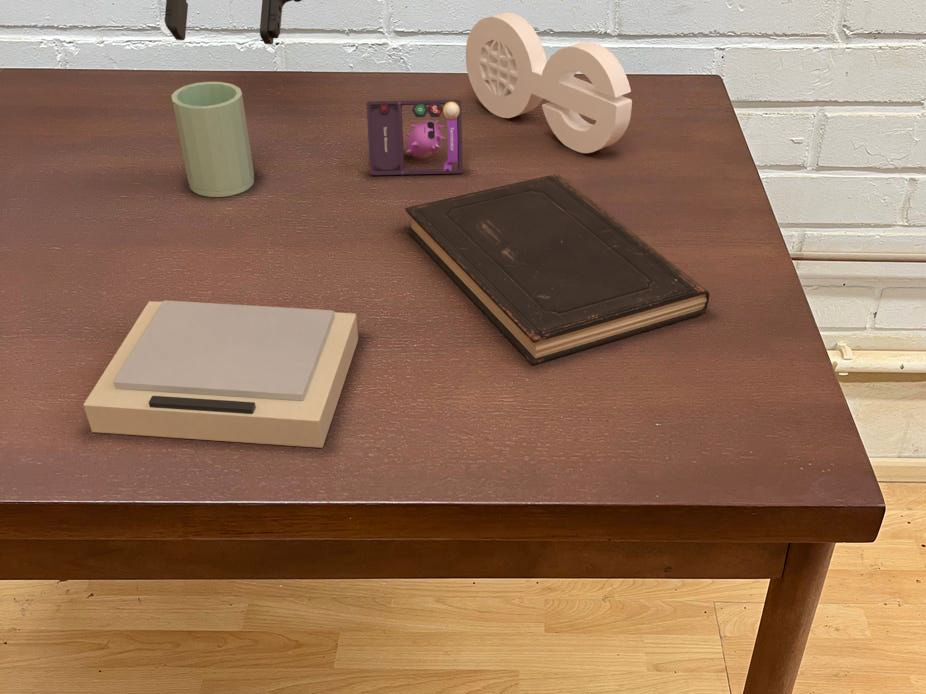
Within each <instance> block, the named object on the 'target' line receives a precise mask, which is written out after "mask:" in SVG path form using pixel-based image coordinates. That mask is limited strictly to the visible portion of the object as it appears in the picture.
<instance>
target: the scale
mask: <svg viewBox="0 0 926 694" xmlns="http://www.w3.org/2000/svg"><path fill="white" fill-rule="evenodd" d="M357 319H358V318H357V313H356V312H355V313H353V312H352V313H351V312H337V311H336V312H335V310H332V309H316V308H301V307H299V308H298V307H284V306H283V307H282V306H267V305H266V306H264V305H250V304H233V303H232V304H231V303H215V302H197V301H184V300H183V301H181V300H162V301H153V300H150V301H148V302H147V304H146V305H145V306H144V309H143V310H142V311H141V313H140V315H139V316H138V318H137V319H136V321H135V323H134V324H133V326H132V327H131V329H130V330H129V332H128V333H127V334H126V337H125V338H124V340H123V342H122V343H121V344H120V346H119V348H118V349H117V351H116V352H115V354H114V356H113V357H112V359H111V361H110V362H109V363H108V365H107V366H106V368H105V370H104V371H103V373H102V374H101V376H100V377H99V378H98V381H97V382H96V384H95V385H94V387H93V389H92V390H91V391H90V393H89V394H88V396H87V398H86V400H85V401H84V403H83V409H84V412H85V415H86V418H87V421H88V425H89V427H90V431H91V433H101V434H112V435H113V434H115V435H128V436H129V435H130V436H140V437H141V436H142V437H143V436H144V437H158V438H172V439H184V440H185V439H188V440H200V441H201V440H202V441H214V442H215V441H216V442H230V443H243V444H258V445H259V444H260V445H271V446H272V445H273V446H287V447H288V446H290V447H303V448H314V449H315V448H317V449H318V448H319V449H322V448H324V445H325V442H326V440H327V436H328V433H329V430H330V427H331V424H332V421H333V418H334V415H335V413H336V409H337V406H338V402H339V400H340V397H341V394H342V390H343V388H344V385H345V382H346V378H347V376H348V373H349V369H350V367H351V363H352V361H353V357H354V354H355V351H356V348H357V345H358V342H359V332H358V320H357Z"/></svg>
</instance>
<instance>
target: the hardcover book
mask: <svg viewBox="0 0 926 694" xmlns="http://www.w3.org/2000/svg"><path fill="white" fill-rule="evenodd" d="M404 211H405V213H407V215H409V216H410V225H411V226H410V227H405V229H406V230H405V231H406V232H407V233H408V234H409V235H410V236H411V237H412V238H413V240H415V242H416V243H417V244H418V245H419V246H420V247H421V248H422V249H423V250H424V251H425V252H426V253H427V254H428V255H429V257H431V258H432V259H433V260H434V262H435V263H436V264H437V265H438V266H439V267H440V268H441V269H442V270H443V272H445V274H446V275H447V276H449V278H450V279H451V280H452V281H453V282H454V283H455V284H456V285H457V286H458V287H459V288H460V289H461V290H462V292H463V293H464V294H465V295H467V297H468V298H469V299H470V300H471V301H472V302H473V303H474V305H476V306H477V307H478V309H480V311H482V313H483V314H484V315H485V316H486V317H487V318H488V319H489V320H490V321H491V322H492V323H493V325H495V327H496V328H497V329H498V330H499V331H500V332H501V333H502V334H503V336H505V337H506V338H507V339H508V340H509V341H510V342H511V344H512V345H513V346H514V347H515V348H516V349H517V350H518V351H519V352H520V353H521V354H522V355H523V357H525V358H526V360H527V361H528V362H529V363H530V364H531V365H532V366H533V365H537V364H539V363H543V362H546V361H550V360H553V359H556V358H559V357H560V358H561V357H563V356H566V355H570V354H573V353H577V352H580V351H584V350H588V349H590V348H594V347H596V346H600V345H603V344H607V343H611V342H614V341H617V340H620V339H624V338H627V337H630V336H634V335H637V334H641V333H644V332H647V331H651V330H654V329H657V328H661V327H665V326H667V325H671V324H674V323H678V322H681V321H685V320H688V319H690V318H691V319H692V318H694V317H697V316H701V315H702V314H703V313H704V312H705V311H706V310H707V308H708V306H709V301H710V292H709V291H708V290H707V289H706V288H704V286H702V285H701V284H699V283H698V282H697V281H696V280H694V279H693V278H692V277H691V276H689V274H687V273H686V272H684V271H683V270H682V269H680V268H679V267H678V266H676V265H675V264H674V263H673V262H671V261H670V260H669V259H668V258H667V257H665V256H664V255H663V254H661V253H660V252H659V251H657V250H656V249H655V248H653V247H652V246H651V245H650V244H648V243H647V242H646V241H645V240H643V239H642V238H640V236H638V235H637V234H635V232H633V231H632V230H631V229H629V228H628V227H627V226H626V225H624V224H623V223H621V222H620V221H619V220H617V218H615V217H614V216H613V215H612V214H610V213H609V212H607V211H606V210H605V209H603V207H601V206H600V205H598V204H597V203H596V202H594V201H593V199H591V198H589V197H588V196H587V195H586V194H584V193H583V192H582V191H580V190H579V189H578V188H576V186H574V185H573V184H572V183H570V182H569V181H567V180H566V179H565V178H564V177H562V176H561V175H560V174H558V173H555V174H554V173H553V174H549V175H545V176H542V177H541V176H540V177H537V178H532V179H528V180H524V181H519V182H514V183H510V184H506V185H501V186H497V187H496V186H495V187H492V188H489V189H483V190H478V191H474V192H470V193H466V194H462V195H461V194H460V195H455V196H451V197H448V198H442V199H439V200H434V201H431V202H430V201H429V202H426V203H421V204H416V205H412V206H408V207H407V206H406V207H405V210H404Z"/></svg>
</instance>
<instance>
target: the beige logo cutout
mask: <svg viewBox="0 0 926 694" xmlns="http://www.w3.org/2000/svg"><path fill="white" fill-rule="evenodd" d="M465 67H466V71H467V77H468V79H469V82H470V85H471V87H472V90H473V91H474V94H475V95H476V97H477V99H478V100H479V102H480V103H481V104H482V105H483V107H484V108H485V109H486V110H487V111H488V112H490V113H491V114H493V115H494V116H497V117H500V118H503V119H511V118H514V117H517V116H521V115H523V114H526V113H529V112H531V111H533V110H535V109H536V108H537V107H538V106H539V105H540V103H541V102H542V100H543V99H544V100H546V101H548V102H546V103H543V104H541V107H542V111H543V115H544V117H545V120H546V122H547V124H548V126H549V129H550V130H551V131H552V134H554V135H555V137H556V138H557V139H558V140H559V141H560V142H561V144H563V145H564V146H565V147H567V148H569V149H571V150H573V151H574V152H578V153H581V154H591V153H594V152H597V151H600V150H601V149H605V148H607V147H609V146H612V145H614V144H615V143H617V142H618V141H619V140H620V139H621V138H622V137H623V135H625V133H626V131H627V129H628V127H629V125H630V122H631V117H632V107H633V99H631V98H628V97H626V96H624V95H626V94H629V93H631V92H632V90H631V86H630V82H629V79H628V76H627V74H626V72H625V70H624V67H623V66H622V65H621V63H620V61H619V60H618V59H617V57H616V56H615V55H614V54H613V53H612V52H611V51H610V50H609V49H607V48H606V47H605V46H603V45H600V44H599V43H598V44H597V43H595V42H592V41H581V42H578V43H575V44H571V45H569V46H565V47H563V48H560V49H558V50H556V51H555V52H554V53H553V54H552V55H551V56H550V57H549V59H548V60H547V55H546V52H545V49H544V45H543V44H542V42H541V39H540V38H539V35H538V34H537V32H536V31H535V29H534V27H533V26H531V24H530V23H529V22H528V21H527V20H526V19H524V18H523V17H522V16H520V15H518V14H515V13H512V12H501V13H497V14H493V15H490V16H487V17H483V18H481V19H479V20H478V21H477V22H476V23H475V24H474V25H473V27H472V28H471V29H470V32H469V35H468V36H467V40H466V44H465ZM578 72H579V73H581V74H582V75H584V76H585V77H586V78H587V79H588V80H589V81H590V82H591V83H590V82H588V81H585V80H583V79H580V78H578V77H575V75H576V74H577V73H578ZM581 116H583V117H586V118H588V119H591V120H592V121H593V120H594V121H595V122H594V124H592V123H589V122H588V121H587V120H585V119H583V117H581Z"/></svg>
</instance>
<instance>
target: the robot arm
mask: <svg viewBox="0 0 926 694" xmlns="http://www.w3.org/2000/svg"><path fill="white" fill-rule="evenodd" d="M187 1H188V0H165V11H164V24H165V26H166V28H167V30H168V31H169V33H170V34H171V35H172V36H173V38H174V39H175V40H176V41H185V40H186V35H187V33H186V32H187V22H188V10H189V3H188V2H187ZM292 1H293V2H296V3H299V2H302V0H261V11H260V21H259V22H260V23H259V36H260V39H261V40H262V42H263V43H264V45H273V44H274V39H278V38H279V36H280V34H281V28H282V27H281V26H282V16H283V7H284V5H285V4H286V3H288V2H292Z"/></svg>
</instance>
